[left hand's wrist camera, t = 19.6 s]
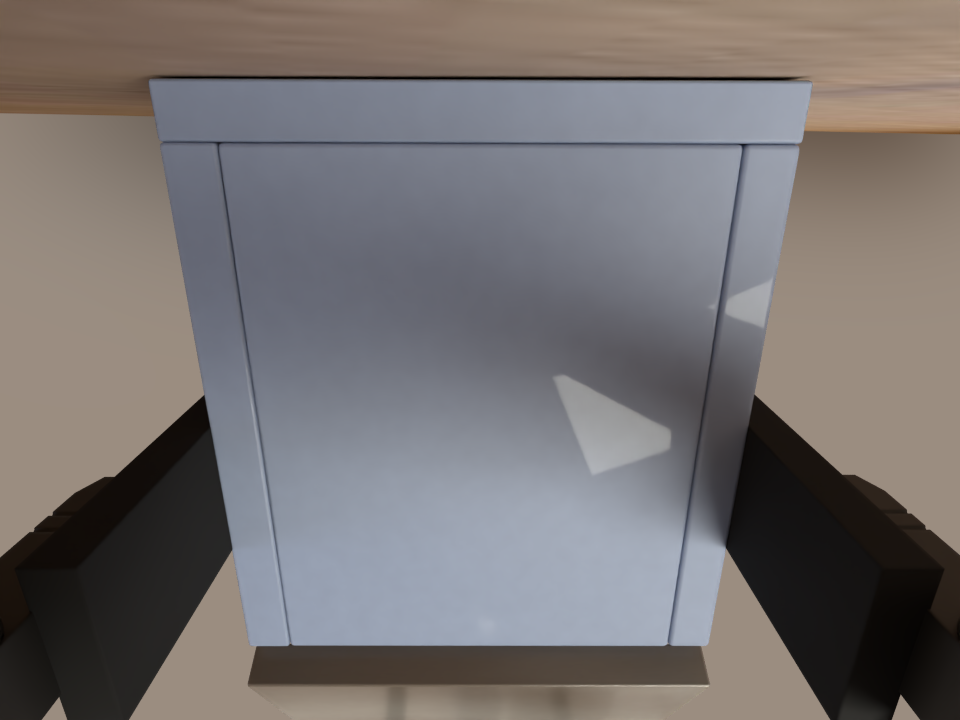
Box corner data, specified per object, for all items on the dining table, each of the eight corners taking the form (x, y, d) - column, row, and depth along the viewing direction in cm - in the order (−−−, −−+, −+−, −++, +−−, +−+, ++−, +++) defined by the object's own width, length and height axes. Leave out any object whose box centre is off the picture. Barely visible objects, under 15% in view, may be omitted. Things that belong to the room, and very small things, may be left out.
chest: (607, 120, 22) (588, 384, 26) (351, 120, 22) (369, 383, 26) (815, 79, 8) (709, 648, 12) (145, 77, 8) (248, 647, 12)
